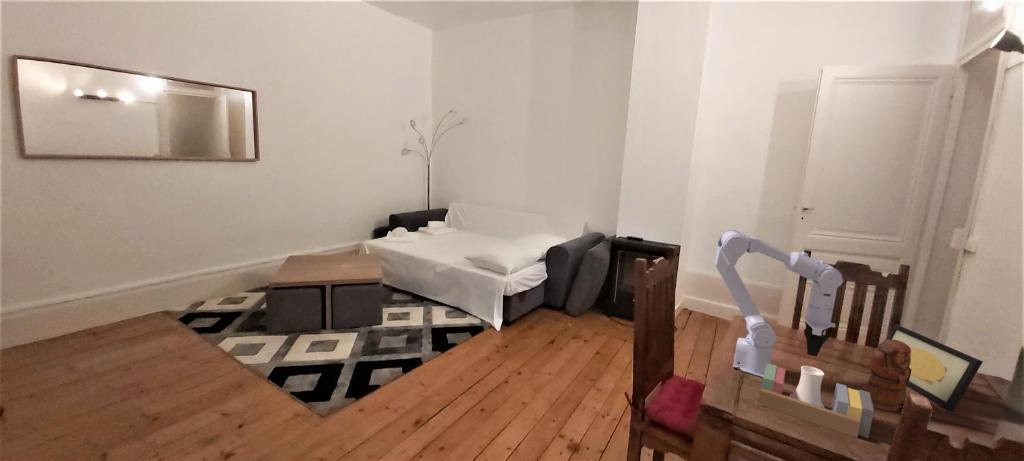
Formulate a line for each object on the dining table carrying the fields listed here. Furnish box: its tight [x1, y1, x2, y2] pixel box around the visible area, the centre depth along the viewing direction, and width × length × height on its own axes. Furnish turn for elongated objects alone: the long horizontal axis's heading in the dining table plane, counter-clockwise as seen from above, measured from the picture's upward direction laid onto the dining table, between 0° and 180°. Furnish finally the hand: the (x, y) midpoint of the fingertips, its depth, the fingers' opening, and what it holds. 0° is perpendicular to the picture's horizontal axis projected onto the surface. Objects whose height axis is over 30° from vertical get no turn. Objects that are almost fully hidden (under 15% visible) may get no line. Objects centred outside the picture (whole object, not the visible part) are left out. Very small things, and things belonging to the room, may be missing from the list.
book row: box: [758, 363, 875, 439], centre depth 103 cm, size 22×12×7 cm, turn 53°
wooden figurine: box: [865, 339, 911, 412], centre depth 106 cm, size 12×6×18 cm, turn 118°
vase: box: [788, 365, 825, 408], centre depth 105 cm, size 8×8×10 cm
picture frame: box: [885, 323, 984, 412], centre depth 116 cm, size 23×9×15 cm, turn 1°
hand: (812, 350), depth 117 cm, fingers open, 7 cm apart
